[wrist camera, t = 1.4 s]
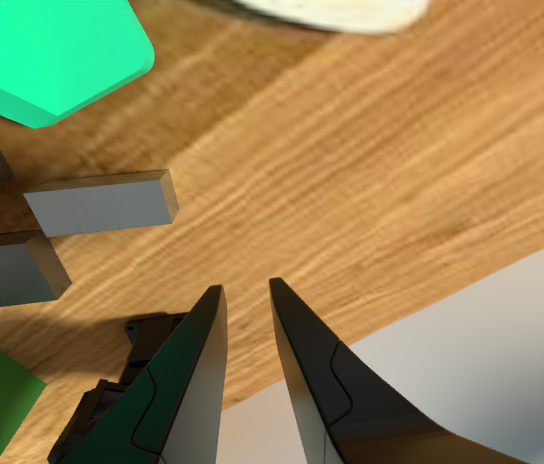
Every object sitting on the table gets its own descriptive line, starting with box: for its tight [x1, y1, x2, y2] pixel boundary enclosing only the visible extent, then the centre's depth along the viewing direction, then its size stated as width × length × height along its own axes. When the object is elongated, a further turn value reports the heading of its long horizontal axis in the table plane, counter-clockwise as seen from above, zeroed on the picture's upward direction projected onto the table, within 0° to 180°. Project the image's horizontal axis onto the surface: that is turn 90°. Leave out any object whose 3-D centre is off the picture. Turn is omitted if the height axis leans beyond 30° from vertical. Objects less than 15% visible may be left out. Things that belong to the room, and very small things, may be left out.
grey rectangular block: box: [23, 169, 179, 237], centre depth 18 cm, size 3×8×2 cm, turn 94°
